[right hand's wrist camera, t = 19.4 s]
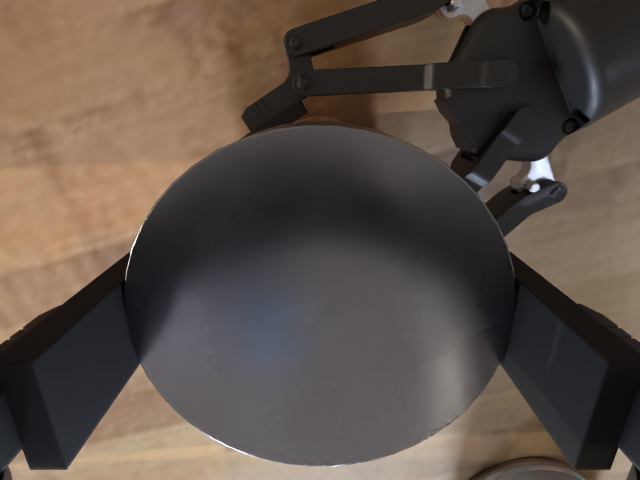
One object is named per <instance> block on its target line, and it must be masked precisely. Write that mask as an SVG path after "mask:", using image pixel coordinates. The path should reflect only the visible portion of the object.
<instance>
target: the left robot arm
mask: <svg viewBox="0 0 640 480" xmlns="http://www.w3.org/2000/svg"><path fill="white" fill-rule="evenodd" d="M432 14H435V16H436V17H437V19H438V20H440V21H441V22H448V21H451V20H453V19H460V20H462V21H463V22H464V23H465V24H466V26H465V28H464V30H463V32H462V34H461V36H460V38H459V40H458V43H457V45H456V47H455V49H454V51H453V53H452V55H451V57H450V59H449V61H448V62H447V63H432V64H424V65H404V66H384V67H364V68H344V69H324V70H313V66H312V61H311V57H314V56H317V55H320V54H323V53H326V52H329V51H332V50H335V49H338V48H341V47H344V46H347V45H350V44H354V43H357V42H360V41H363V40H366V39H369V38H372V37H375V36H378V35H381V34H384V33H387V32H390V31H393V30H397V29H400V28H403V27H406V26H409V25H412V24H415V23H417V22H420V21H422V20H424V19H426V18H428V17H429V16H431V15H432ZM284 47H285V50H286V55H287V60H288V64H289V75H288V78H287V79H286V81H285V82H284V83H283V84H281V85H280V86H278V87H277V88H275V89H274V90H272V91H271V92H270V93H268V94H267V95H265V96H264V97H262V98H261V99H259V100H258V101H256V102H255V103H253V104H252V105H250V106H249V107H248V108H246V110H245V111H244V113H243V114H242V116H241V118H242V119H243V121H244V122H245V124H246V125H247V127H248V128H249V130H250V131H251V132H250V133H249V134H247V135H246V136H244V137H243V138H245V137H247V136H249V135H252V134H254V133H256V132H258V131H262V130H265V129H269V128H272V127H276V126H279V125H283V124H291V123H293V122H294V121H296V120H297V119H299V118H300V117H302V116H303V115H305V114H306V113H308V112H307V110H306V108H305V107H304V105H303V103H302V102H301V101H302V100H304V99H305V98H307V97H309V96H330V95H350V94H371V93H391V92H412V91H435V90H436V97H437V99H436V100H434V101H435V103H436V105H437V107H438V110H439V112H440V113H441V114H442V115H443V116H444V118H445V119H446V120H447V121H448V122H449V126H450V132H451V137H452V139H453V141H454V143H455V145H456V147H457V148H460V151H459V152H458V153H457V155H456V156H455V158H454V159H453V161H452V163H451V169H452V170H453V171H454V172H455V173H456V174H458V175H459V176H460V177H461V178H462V179H464V180H465V181H466V182H467V183H468V184H469V185H470V186H471V188H472V189H473V190H474V191H475V192H476V193H478V191H479V190H480V189H481V187H483V186H484V185H486V184H488V183H489V182H490V181H491V180H492V179H493V178H494V176H495V175H496V173H497V172H498V171H499V169H500V168H501V167H502V165H503V164H504V163H505V161H506V160H512V161H523V166H522V169H521V170H520V172H519V173H517V174H516V175H514V176H512V177H511V179H510V183H511V185H510V186H508V187H506V188H504V189H503V190H501V191H500V192H498V193H497V194H496V195H495V196H493V197H492V198H491V199H490V200H489V201H488V202H487V203H485V204H486V206H487V207H488V209H489V211H490V212H491V214H492V215H493V217H494V218H495V220H496V222H497V223H498V225H499V227H500V230H501V232H502V234H503V237H505V236H506V235H507V234H508V233H509V232H511V231H512V230H513V229H514V228H515V227H517V226H518V225H519V224H520V223H521V222H522V221H524V220H525V219H526V218H527V217H528V216H530V215H531V214H533V213H535V212H538V211H540V210H542V209H544V208H547V207H549V206H551V205H553V204H556V203H558V202H560V201H561V200H563V199H564V198H565V196H566V194H567V187H566V185H565V184H563V183H561V182H558V181H555V179H554V176H553V173H552V169H551V166H550V162H549V159H548V155H549V154H550V153H551V152H552V151H553V149H554V148H555V147H556V145H557V144H558V143H559V142H560V141H561V140H562V139H563V138H564V137H566V136H567V135H569V134H571V133H573V132H575V131H578V130H580V129H582V128H584V127H586V126H588V125H590V124H592V123H593V122H595V121H597V120H599V119H601V118H602V117H604V116H606V115H608V114H610V113H611V112H613V111H615V110H617V109H619V108H620V107H622V106H624V105H626V104H628V103H629V102H631V101H633V100H635V99H636V98H638V97H640V0H519V1H517V2H516V3H514V4H512V5H511V6H508V7H503V8H491V9H490V7H489V5H488V3H487V1H486V0H377V1H374V2H371V3H368V4H365V5H362V6H359V7H356V8H353V9H351V10H348V11H345V12H342V13H339V14H336V15H333V16H330V17H327V18H324V19H321V20H318V21H315V22H312V23H309V24H306V25H303V26H300V27H297V28H294V29H291V30H290V31H288V32H287V33H286V35H285V37H284ZM243 138H241V139H243ZM472 480H587V479H586V478H585V477H584V475H583V474H582V473H581V472H580V471H578V470H574V469H573V468H572V466H570V465H568V464H566V463H563V462H560V461H556V460H552V459H545V458H526V459H518V460H513V461H509V462H505V463H502V464H499V465H496V466H494V467H492V468H489V469H487V470H486V471H484V472H482V473H480V474H479V475H477V476H476V477H475V478H473V479H472Z"/></svg>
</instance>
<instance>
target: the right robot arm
mask: <svg viewBox="0 0 640 480" xmlns="http://www.w3.org/2000/svg"><path fill="white" fill-rule="evenodd" d="M509 253H510V257H511V261H512V265H513V269H514V278H515V288H516V302H515V314H514V319H513V324H512V329H511V333H510V338H509V342H508V345H507V347H506V350H505V353H504V356H503V358H502V360H501V362H500V364H501V365H502V367H503V368H504V370H505V371H506V372H507V374H508V375H509V377H510V378H511V380H512V381H513V383H514V384H515V385H516V387H517V388H518V390H519V391H520V393H521V394H522V396H523V397H524V398H525V400H526V401H527V403H528V404H529V406H530V407H531V409H532V410H533V412H534V413H535V414H536V416H537V417H538V419H539V420H540V422H541V423H542V425H543V426H544V427H545V429H546V430H547V432H548V433H549V435H550V436H551V438H552V439H553V440H554V442H555V443H556V445H557V446H558V448H559V449H560V451H561V452H562V453H563V455H564V456H565V458H566V459H567V461H568V462H569V464H570V465H571V466H572V468H573V469H574V470H610V469H611V466H612V463H613V461H614V458H615V455H616V453H617V450H618V447H619V448H620V449H621V451H622V452H623V453H624V454H625V455H626V456H627V457H628V459H629V460H630V461H631V462H632V463H633V464H632V467H631V469H630V472H629V474H628V477H627V479H626V480H640V342H638V341H637V340H636V339H632V338H631V336H630V335H629V334H628V333H626V332H625V331H624V330H622V329H621V328H618V326H617V325H616V324H614V323H613V322H612V321H610V320H609V319H608V318H606V317H605V316H604V315H602V314H600V313H598V312H596V311H594V310H592V309H590V308H588V307H586V306H584V305H582V304H576V303H575V302H574V301H573V300H571V299H570V298H569V297H568V296H566V295H565V294H564V293H562V292H561V291H560V290H559V289H557V288H556V287H555V286H553V285H552V284H551V283H550V282H548V281H547V280H546V279H544V278H543V277H542V276H541V275H539V274H538V273H537V272H536V271H534V270H533V269H532V268H530V267H529V266H528V265H527V264H525V263H524V262H523V261H521V260H520V259H519V258H518V257H516V256H515V255H514V254H513V253H511V252H510V251H509ZM130 254H131V251H130V252H129V253H128V254H126V255H125V256H124V257H123V258H121V259H120V260H119V261H117V262H116V263H115V264H114V265H112V266H111V267H110V268H109V269H107V270H106V271H105V272H103V273H102V274H101V275H100V276H98V277H97V278H96V279H94V280H93V281H92V282H91V283H89V284H88V285H87V286H86V287H84V288H83V289H82V290H80V291H79V292H78V293H77V294H75V295H74V296H73V297H71V298H70V299H69V300H68V301H66V302H65V303H64V304H63V305H60V306H57V307H55V308H53V309H51V310H49V311H47V312H45V313H43V314H41V315H39V316H38V317H36V318H35V319H34V320H32V321H31V322H30V323H28V324H27V325H26V326H24V327H23V330H19V331H18V332H16V333H15V334H14V335H12V336H11V337H10V340H6V341H4V342H3V343H2V344H0V480H12V476H11V472H10V469H9V467H8V465H9V463H10V462H11V461H12V460H13V459H14V458H15V456H16V455H17V454H18V453H19V452H20V451H21V449H23V452H24V454H25V457H26V460H27V462H28V465H29V468H30V470H67V468H68V467H69V465H70V464H71V462H72V461H73V460H74V458H75V457H76V455H77V454H78V452H79V451H80V449H81V448H82V447H83V445H84V444H85V442H86V441H87V439H88V438H89V436H90V435H91V434H92V432H93V431H94V429H95V428H96V426H97V425H98V423H99V422H100V421H101V419H102V418H103V416H104V415H105V413H106V412H107V410H108V409H109V408H110V406H111V405H112V403H113V402H114V400H115V399H116V397H117V396H118V394H119V393H120V392H121V390H122V389H123V387H124V386H125V384H126V383H127V381H128V380H129V379H130V377H131V376H132V374H133V373H134V371H135V370H136V368H137V367H138V366H139V364H140V362H139V360H138V358H137V355H136V352H135V350H134V347H133V344H132V341H131V337H130V332H129V328H128V323H127V318H126V313H125V299H124V290H125V279H126V270H127V266H128V262H129V258H130Z"/></svg>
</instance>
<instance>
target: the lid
mask: <svg viewBox="0 0 640 480" xmlns="http://www.w3.org/2000/svg"><path fill="white" fill-rule="evenodd" d="M124 299H125V313H126V318H127V323H128V328H129V332H130V337H131V341H132V344H133V347H134V350H135V352H136V355H137V358H138V360H139V362H140V364H141V365H142V367H143V369H144V371H145V373H146V375H147V377H148V378H149V380H150V381H151V382H152V384H153V385H154V387H155V388H156V389H157V391H158V392H159V394H160V395H161V396H162V397H163V398H164V399H165V400H166V401H167V403H168V404H169V405H170V406H171V407H172V408H173V409H174V410H175V411H176V412H177V413H178V414H180V415H181V416H182V417H183V418H184V419H185V420H187V421H188V422H189V423H190V424H191V425H193V426H194V427H196V428H197V429H199V430H200V431H202V432H203V433H205V434H206V435H207V436H209V437H211V438H213V439H215V440H217V441H218V442H220V443H222V444H224V445H226V446H228V447H230V448H233V449H235V450H238V451H240V452H243V453H245V454H248V455H251V456H255V457H258V458H261V459H265V460H268V461H274V462H279V463H284V464H290V465H301V466H339V465H350V464H356V463H361V462H366V461H371V460H375V459H379V458H382V457H385V456H389V455H392V454H395V453H398V452H400V451H402V450H405V449H407V448H410V447H412V446H414V445H416V444H418V443H420V442H422V441H424V440H425V439H427V438H429V437H431V436H433V435H434V434H436V433H437V432H439V431H440V430H441V429H443V428H444V427H446V426H447V425H449V424H450V423H451V422H452V421H454V420H455V419H456V418H457V417H458V416H459V415H461V414H462V413H463V412H464V411H465V410H466V409H467V408H468V407H469V406H470V405H471V404H472V403H473V402H474V400H475V399H476V398H477V397H478V396H479V395H480V394H481V392H482V391H483V390H484V388H485V387H486V385H487V384H488V383H489V381H490V380H491V378H492V377H493V375H494V373H495V371H496V369H497V368H498V366H499V364H500V362H501V360H502V358H503V356H504V353H505V350H506V347H507V345H508V342H509V338H510V333H511V329H512V324H513V319H514V314H515V302H516V288H515V278H514V269H513V265H512V261H511V257H510V253H509V249H508V246H507V244H506V241H505V239H504V237H503V234H502V232H501V230H500V227H499V225H498V223H497V222H496V220H495V218H494V217H493V215H492V214H491V212H490V211H489V209H488V207H487V206H486V204H485V203H484V201H483V200H482V199H481V198H480V197H479V196H478V194H477V193H476V192H475V191H474V190H473V189H472V188H471V186H470V185H469V184H468V183H467V182H466V181H465V180H464V179H462V178H461V177H460V176H459V175H458V174H456V173H455V172H454V171H453V170H452V169H451V168H449V167H448V166H447V165H446V164H444V163H443V162H441V161H440V160H438V159H436V158H435V157H433V156H431V155H430V154H428V153H427V152H425V151H423V150H422V149H420V148H418V147H415V146H413V145H411V144H409V143H407V142H404V141H402V140H400V139H398V138H395V137H393V136H391V135H388V134H386V133H384V132H382V131H379V130H375V129H371V128H368V127H364V126H361V125H357V124H350V123H342V122H335V121H305V122H298V123H291V124H283V125H279V126H276V127H272V128H269V129H265V130H262V131H258V132H256V133H254V134H252V135H249V136H247V137H245V138H243V139H240V140H238V141H236V142H234V143H232V144H229V145H227V146H225V147H223V148H221V149H218V150H217V151H215V152H213V153H212V154H210V155H209V156H207V157H206V158H204V159H202V160H201V161H199V162H198V163H196V164H194V165H193V166H192V167H191V168H190V169H188V170H187V171H186V172H185V173H184V174H183V175H181V176H180V177H179V178H178V179H177V180H176V181H174V182H173V183H172V184H171V185H170V187H169V188H168V189H167V190H166V191H165V192H164V194H163V195H162V196H161V197H160V198H159V199H158V201H157V202H156V203H155V204H154V206H153V208H152V209H151V211H150V212H149V214H148V216H147V217H146V219H145V220H144V222H143V224H142V225H141V228H140V230H139V232H138V235H137V237H136V239H135V242H134V244H133V247H132V250H131V254H130V258H129V262H128V266H127V270H126V279H125V290H124Z"/></svg>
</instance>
